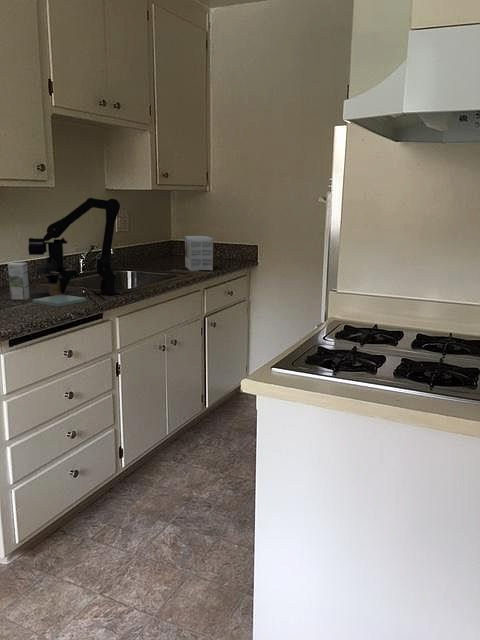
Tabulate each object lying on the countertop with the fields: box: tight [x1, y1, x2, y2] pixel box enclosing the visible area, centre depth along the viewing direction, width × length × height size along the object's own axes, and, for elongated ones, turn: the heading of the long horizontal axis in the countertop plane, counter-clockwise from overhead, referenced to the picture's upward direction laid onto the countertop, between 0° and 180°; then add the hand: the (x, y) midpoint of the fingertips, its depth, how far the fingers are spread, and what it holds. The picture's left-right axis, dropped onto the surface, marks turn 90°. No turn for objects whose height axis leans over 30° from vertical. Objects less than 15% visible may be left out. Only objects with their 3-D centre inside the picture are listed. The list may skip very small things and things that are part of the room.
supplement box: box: [184, 235, 214, 272], centre depth 314 cm, size 17×13×18 cm
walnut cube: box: [48, 281, 68, 296], centre depth 228 cm, size 5×5×5 cm
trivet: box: [32, 294, 87, 308], centre depth 215 cm, size 14×14×1 cm
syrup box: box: [7, 261, 30, 301], centre depth 218 cm, size 6×6×14 cm
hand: (58, 292), depth 228 cm, fingers closed on walnut cube, 5 cm apart
